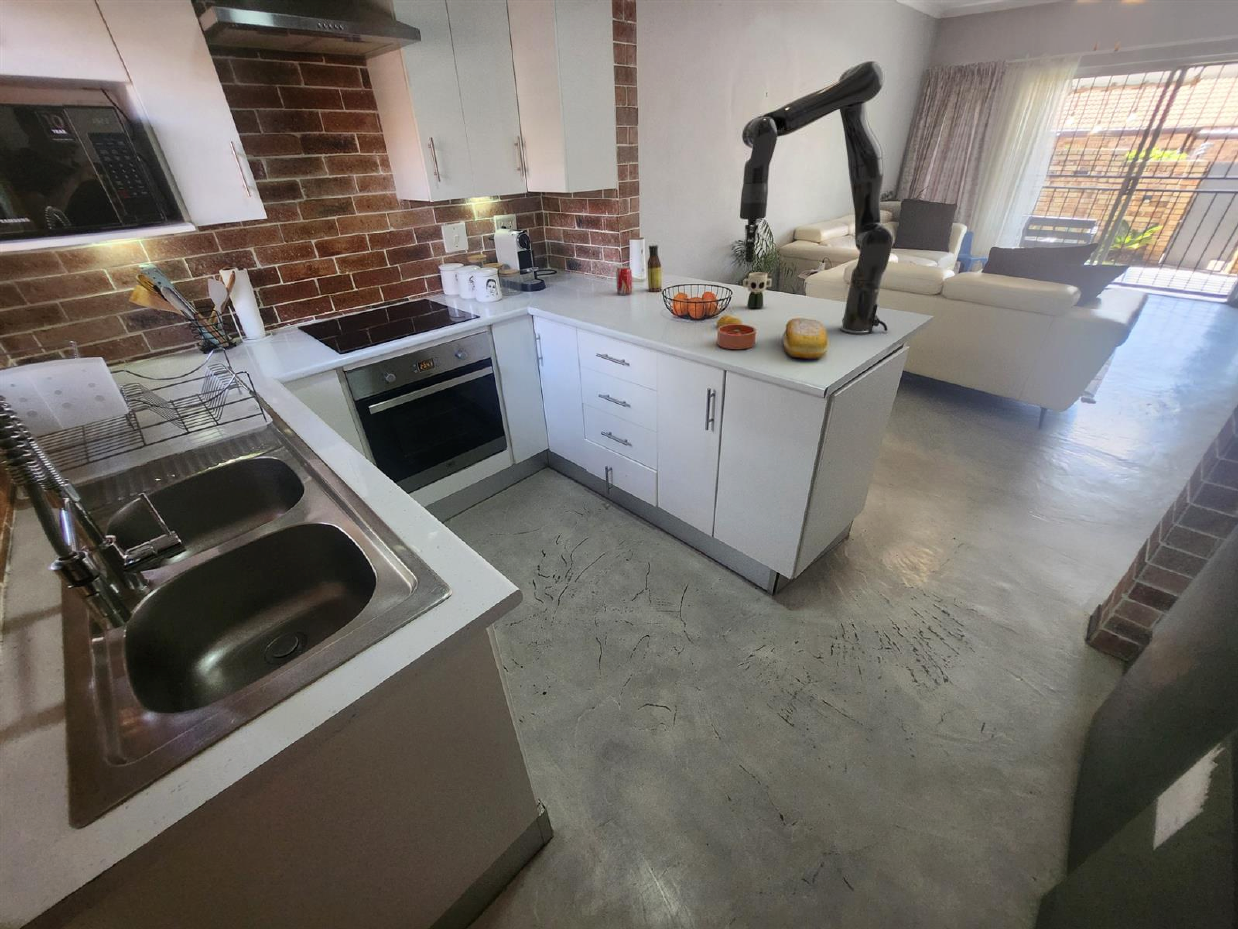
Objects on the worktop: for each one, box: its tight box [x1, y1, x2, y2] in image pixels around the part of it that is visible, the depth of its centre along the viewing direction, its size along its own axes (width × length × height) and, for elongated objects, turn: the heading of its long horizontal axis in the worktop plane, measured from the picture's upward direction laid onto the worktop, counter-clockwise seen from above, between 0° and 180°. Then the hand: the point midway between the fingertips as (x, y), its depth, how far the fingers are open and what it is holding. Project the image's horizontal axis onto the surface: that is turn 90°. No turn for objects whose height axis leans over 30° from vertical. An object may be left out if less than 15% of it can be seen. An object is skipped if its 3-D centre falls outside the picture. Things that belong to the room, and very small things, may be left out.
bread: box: [782, 317, 829, 360], centre depth 159 cm, size 13×26×8 cm, turn 169°
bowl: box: [716, 323, 757, 350], centre depth 166 cm, size 12×12×5 cm
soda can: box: [615, 265, 633, 296], centre depth 232 cm, size 7×7×12 cm
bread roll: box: [716, 315, 743, 328], centre depth 183 cm, size 8×9×4 cm
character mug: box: [742, 271, 773, 309], centre depth 201 cm, size 11×7×13 cm, turn 79°
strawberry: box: [731, 330, 741, 335], centre depth 166 cm, size 3×3×4 cm
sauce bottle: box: [647, 244, 663, 293], centre depth 233 cm, size 7×6×20 cm
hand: (749, 259), depth 156 cm, fingers open, 8 cm apart
